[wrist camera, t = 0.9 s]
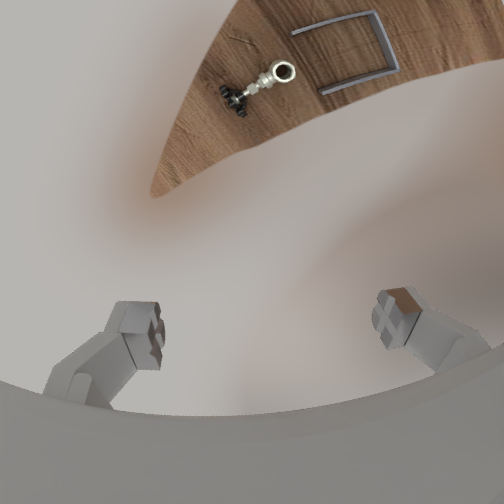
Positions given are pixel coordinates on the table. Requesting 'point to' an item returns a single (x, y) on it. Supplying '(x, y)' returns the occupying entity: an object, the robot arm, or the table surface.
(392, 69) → the valve dock
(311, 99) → the table surface
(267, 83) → the valve
